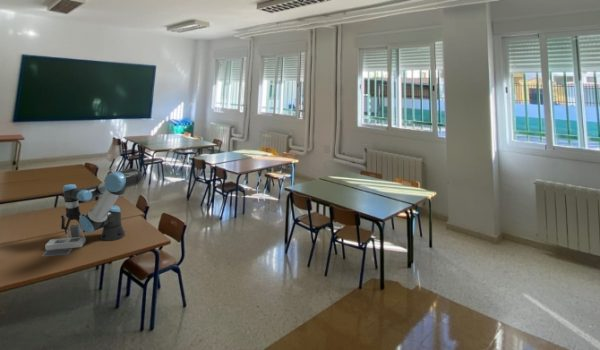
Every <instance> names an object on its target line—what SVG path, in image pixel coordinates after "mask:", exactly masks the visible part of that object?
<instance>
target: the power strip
mask: <svg viewBox="0 0 600 350" xmlns="http://www.w3.org/2000/svg"><path fill="white" fill-rule="evenodd" d="M86 242H87V240H86V236H82V235H81V237H74V238H72V237H70V238H68V237H64V238H63V237H62V238H54V239H49V240H48V241H47V243H45V246H44V248H45V251H52V250H63V249H73V248H82V247H83V246H84V244H85V243H86Z"/></svg>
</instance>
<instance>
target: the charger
mask: <svg viewBox="0 0 600 350" xmlns="http://www.w3.org/2000/svg"><path fill="white" fill-rule="evenodd" d="M69 230H70V238H74V237H82V233H81V226H80V224H79V223H78V224H71V225H70V227H69Z"/></svg>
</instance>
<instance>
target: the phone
mask: <svg viewBox="0 0 600 350" xmlns="http://www.w3.org/2000/svg"><path fill="white" fill-rule="evenodd" d="M72 250H73V248H66V249H55V250H45V252H44V253H43V254H42V255H41V257H42V258H44V257H45V258H46V257H54V256H65V255H69V254H70V253H71V251H72Z"/></svg>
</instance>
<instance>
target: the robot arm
mask: <svg viewBox="0 0 600 350" xmlns="http://www.w3.org/2000/svg"><path fill="white" fill-rule="evenodd" d="M142 180H143V174H142V172H141V171H140V170H139V169H138V168H134V167H133V168H127V169H126V168H125V169H122V170H118V171H113V172H110V173H108V174H107V175H106V176H105V178H104V180H103V182H102V183H99V184H96V185H92V186H90V187H89V186H88V187H86V188H82V189H81V188H77V185H76V184H74V183H70V184H65V185H63V186H62V193H63V199H64V207H65V214H62V215H61V216H60V218H61V224H60V225H61V226H60V227H61V230H64V232H65V234H66V236H67V237H66V238H71V230H70V227H69V226H70V224H71V221H73V220H74V221H77V222H78V224H79V226H80V232H81V237H82V236H84V237H86V236H85V233H92V232H95V231H98V230H100V229H102V230H101V233H100V239H101V240H103V241H106V242H107V241H110V242H111V241H116V240H120V239H123V238H124V237H125V236H126V230H125V229H124V227H123V225H122V224H123V223H122V215H121V214H122V213H121V212H122V211H121V208H120V206H119V205H116V204H115V203H116V201H117V200H118V198H119V197H120V196H122V195H124V194H125V193H126V191H127V190H128V189H129V188H132V187H135V186H138V185H139V184H140V183H141V182H142ZM99 196H100V198H99V199H98V201H96V204H95V206H94V207H93V208H90V209H89V211H88V212H86V213H85V212H84V213H81V211H80V206H79V205H80V204H79V201H80V202H85V203H87V202H89V201H90V200H92V199H93V198H97V197H99ZM114 204H115V205H114ZM66 218H67V221H66Z"/></svg>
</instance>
